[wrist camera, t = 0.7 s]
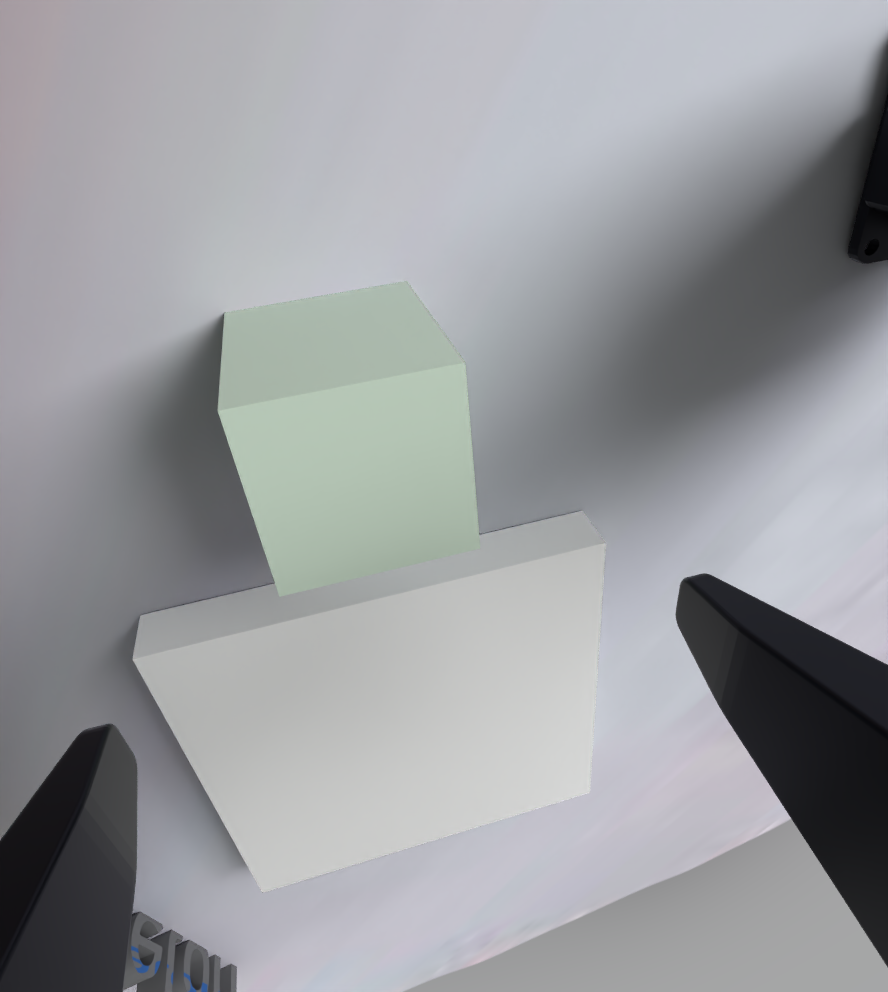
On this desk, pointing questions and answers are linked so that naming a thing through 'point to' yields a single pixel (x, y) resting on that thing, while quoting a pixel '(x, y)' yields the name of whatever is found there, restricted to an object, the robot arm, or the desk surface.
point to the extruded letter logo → (172, 962)
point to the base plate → (388, 698)
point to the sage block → (349, 434)
